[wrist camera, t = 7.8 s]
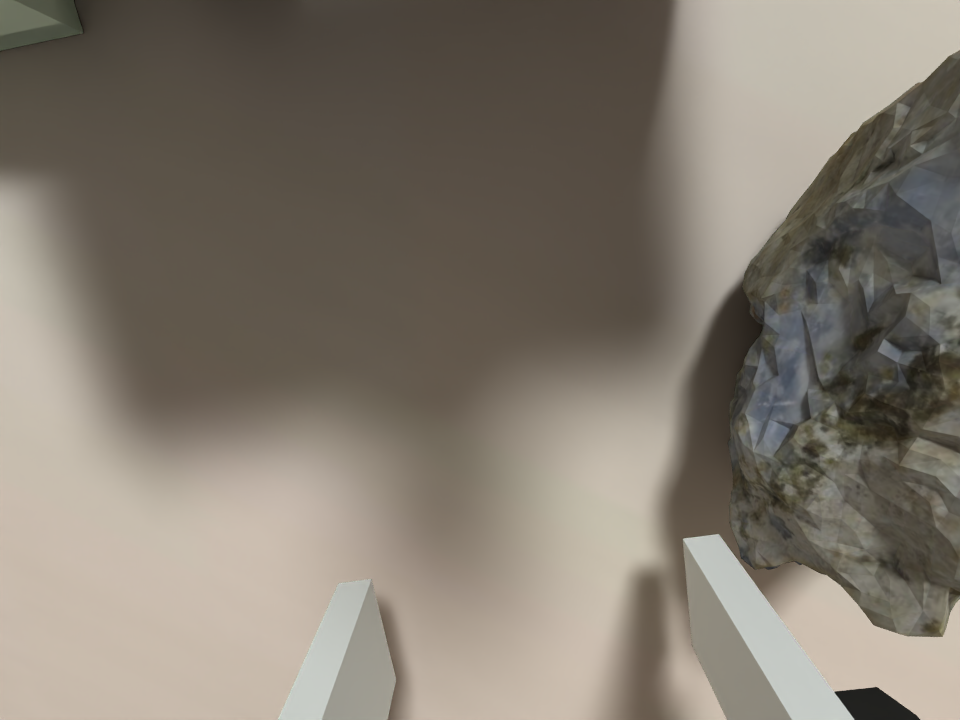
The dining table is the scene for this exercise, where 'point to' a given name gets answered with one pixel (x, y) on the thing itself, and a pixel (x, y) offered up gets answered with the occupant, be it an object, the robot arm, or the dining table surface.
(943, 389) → the rock
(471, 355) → the dining table surface
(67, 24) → the tray
